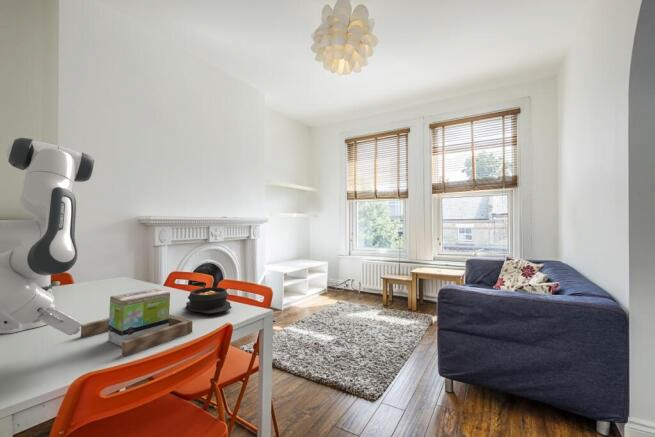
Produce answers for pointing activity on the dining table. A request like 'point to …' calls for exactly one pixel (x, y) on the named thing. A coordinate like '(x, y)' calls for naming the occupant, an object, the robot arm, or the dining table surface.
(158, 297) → the tea box
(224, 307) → the casserole
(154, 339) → the dock
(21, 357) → the dining table surface
